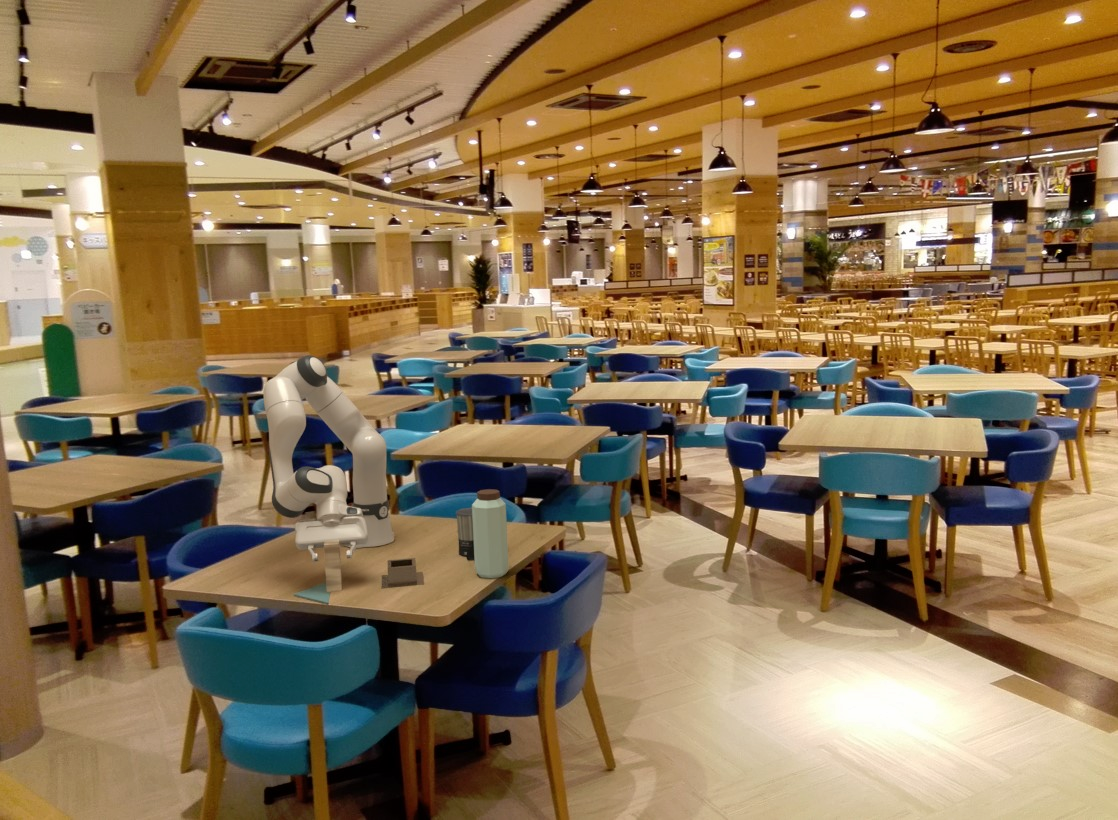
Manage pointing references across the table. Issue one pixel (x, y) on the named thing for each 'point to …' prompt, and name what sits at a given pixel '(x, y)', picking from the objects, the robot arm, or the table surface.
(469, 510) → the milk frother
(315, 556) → the robot arm
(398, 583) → the tan hollow square block
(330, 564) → the maple bar
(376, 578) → the table surface
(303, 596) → the teal mat
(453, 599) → the table surface
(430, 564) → the table surface
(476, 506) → the water bottle
